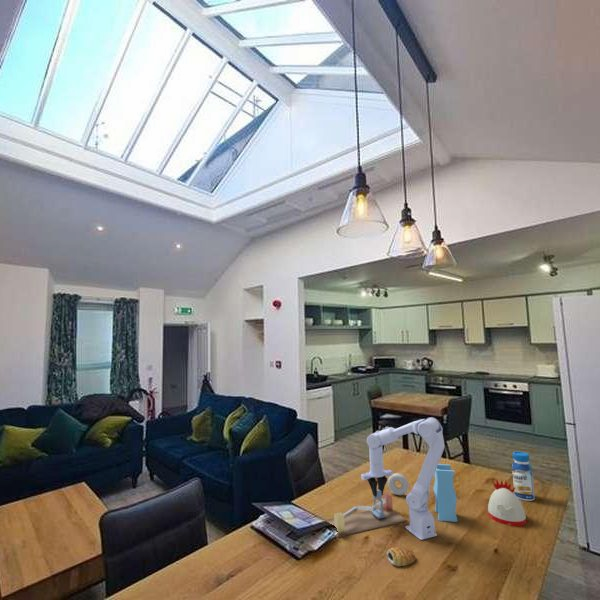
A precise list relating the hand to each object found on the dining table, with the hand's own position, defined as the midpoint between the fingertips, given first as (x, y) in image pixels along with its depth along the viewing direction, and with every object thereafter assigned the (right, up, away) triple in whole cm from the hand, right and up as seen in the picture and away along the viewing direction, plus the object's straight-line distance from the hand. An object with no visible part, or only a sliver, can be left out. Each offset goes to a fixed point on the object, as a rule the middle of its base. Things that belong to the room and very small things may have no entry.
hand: (377, 495), depth 148 cm
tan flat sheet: (-6, -9, -4) cm, 12 cm away
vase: (+29, -9, -1) cm, 30 cm away
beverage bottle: (+73, -10, +15) cm, 75 cm away
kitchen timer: (+54, -8, -2) cm, 55 cm away
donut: (+15, -12, +20) cm, 28 cm away
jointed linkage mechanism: (-6, -9, -4) cm, 12 cm away
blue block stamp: (0, -8, -1) cm, 8 cm away
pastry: (+1, -6, -29) cm, 30 cm away
